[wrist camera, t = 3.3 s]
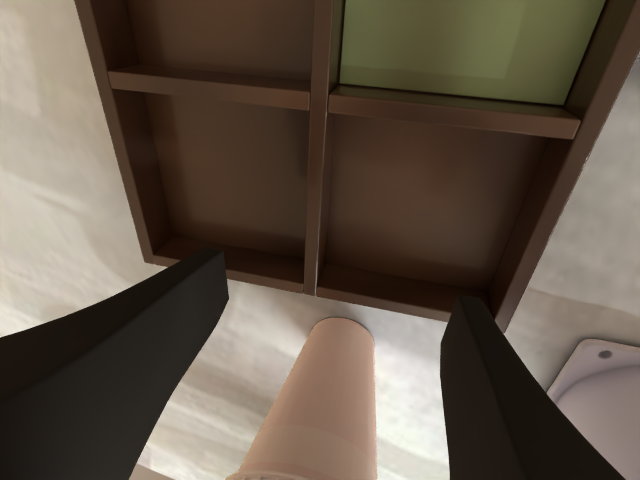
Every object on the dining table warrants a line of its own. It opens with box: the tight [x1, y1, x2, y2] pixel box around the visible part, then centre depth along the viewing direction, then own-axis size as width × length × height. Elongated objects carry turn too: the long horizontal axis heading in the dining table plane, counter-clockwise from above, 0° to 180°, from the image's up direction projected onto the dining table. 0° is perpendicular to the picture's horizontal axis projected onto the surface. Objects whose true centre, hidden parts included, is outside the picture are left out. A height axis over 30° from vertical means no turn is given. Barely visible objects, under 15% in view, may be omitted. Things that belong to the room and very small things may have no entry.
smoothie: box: [225, 317, 377, 480], centre depth 15 cm, size 6×6×14 cm
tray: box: [74, 0, 640, 333], centre depth 13 cm, size 17×17×2 cm
